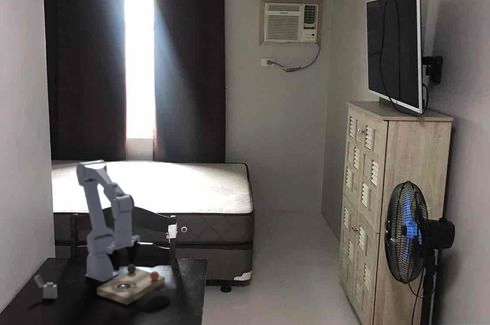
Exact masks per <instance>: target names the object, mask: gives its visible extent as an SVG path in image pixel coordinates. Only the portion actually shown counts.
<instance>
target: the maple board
mask: <svg viewBox="0 0 490 325" xmlns="http://www.w3.org/2000/svg"><path fill="white" fill-rule="evenodd" d="M151 273H152V272H150V271H146V270H144V269H140V268H137V267H136V270H135V272H134V273H129V272H128V271H127V272H125V273H123V274H121V275H118V277H116V278H114V279H112V280H109V281H108V282H106V283H104V284H102V285H99V286H98V287H97V288H96V294H97V295H99V296H100V297H103V298H107V299H109V300H112V301H115V302H118V303H120V304H123V305H126V306H128V305H130V304H131V303H133V302H134V301H138V299H139V298H140V297H141V296H143V295H144V294H145V293H147V292H150V291H154V290H155V289H157V288H159V287H161V286H162V285H164V284H165V282H166V281H165V280H166V277H165V276H163V275H160V274H159V278H158V279H157V280H152V279H151V278H150V274H151ZM121 285H126V286H127V288H128V289H123V290H121V289H118V288H119V287H120V286H121Z"/></svg>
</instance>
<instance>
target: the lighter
mask: <svg viewBox="0 0 490 325" xmlns="http://www.w3.org/2000/svg"><path fill="white" fill-rule="evenodd" d="M33 279H34V281H35V283H36V284H37V286H38V288H39V289H40V288H42V290H43V299H50V300H51V299H52V300H54V299H55V300H56V299H57V298H58V286H57V284H54V282H46V284H45V282H44V281H43V279H42V277H41V276H40V274H37V275H35V276H34V277H33Z"/></svg>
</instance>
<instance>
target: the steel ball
mask: <svg viewBox="0 0 490 325" xmlns="http://www.w3.org/2000/svg"><path fill="white" fill-rule="evenodd" d="M118 289H121V290H123V289H128V288H127V286H126V285H121V286H120V287H119V288H118Z"/></svg>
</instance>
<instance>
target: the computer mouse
mask: <svg viewBox="0 0 490 325" xmlns="http://www.w3.org/2000/svg"><path fill="white" fill-rule="evenodd" d="M170 303H171V297H169V296H168V295H167V294H165V293H164V292H163V291H160V290H155V289H154V290H152V291H150V292H147V293H145V294H144V295H143V296H141V297H140V298H138V299H137V300H136V302H135V304H134V305H135V308H137V309H138V310H139V311H140V312H149V311H152V310H154V309H156V308H159V307H162V306H165V305H168V304H170Z"/></svg>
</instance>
